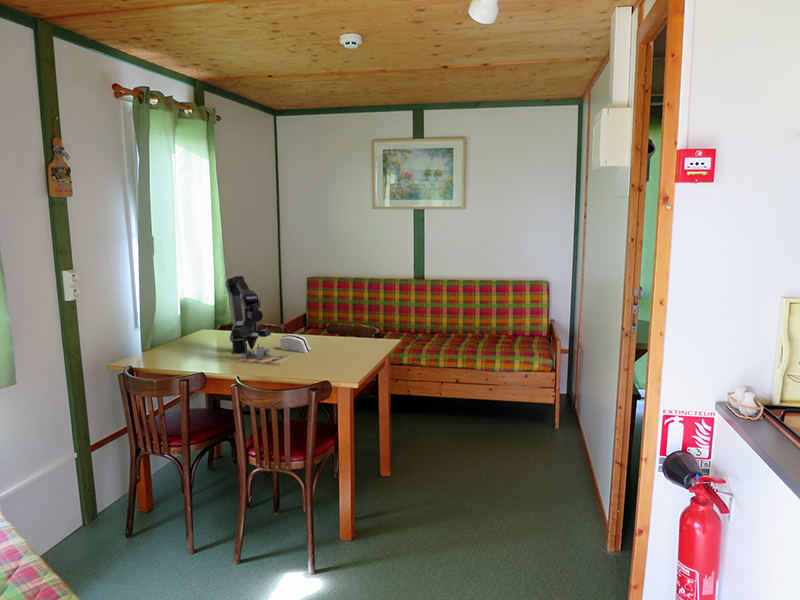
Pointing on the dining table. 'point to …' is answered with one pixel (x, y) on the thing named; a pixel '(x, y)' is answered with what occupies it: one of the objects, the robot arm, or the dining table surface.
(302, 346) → the grey curved block
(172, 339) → the dining table surface
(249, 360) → the brown wooden board
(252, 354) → the rail
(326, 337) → the dining table surface
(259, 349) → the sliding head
